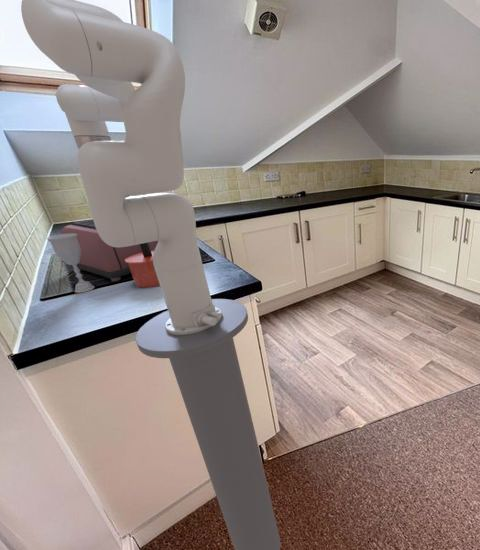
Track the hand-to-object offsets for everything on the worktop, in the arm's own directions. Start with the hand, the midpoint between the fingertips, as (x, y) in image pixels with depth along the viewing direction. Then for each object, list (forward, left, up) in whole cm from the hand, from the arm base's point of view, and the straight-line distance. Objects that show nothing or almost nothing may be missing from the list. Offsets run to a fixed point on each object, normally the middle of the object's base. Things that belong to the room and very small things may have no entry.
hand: (116, 207), depth 87 cm
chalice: (+19, +8, -26) cm, 34 cm away
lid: (+4, -6, -18) cm, 19 cm away
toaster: (+31, -17, -26) cm, 44 cm away
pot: (+4, -6, -26) cm, 27 cm away
